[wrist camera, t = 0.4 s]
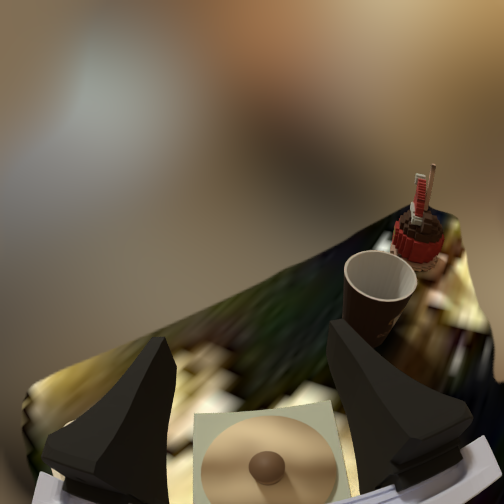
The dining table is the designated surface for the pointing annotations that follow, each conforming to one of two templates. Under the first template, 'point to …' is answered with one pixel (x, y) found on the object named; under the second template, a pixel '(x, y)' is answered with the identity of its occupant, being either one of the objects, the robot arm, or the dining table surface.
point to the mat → (310, 414)
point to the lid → (268, 464)
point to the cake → (419, 229)
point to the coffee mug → (376, 293)
